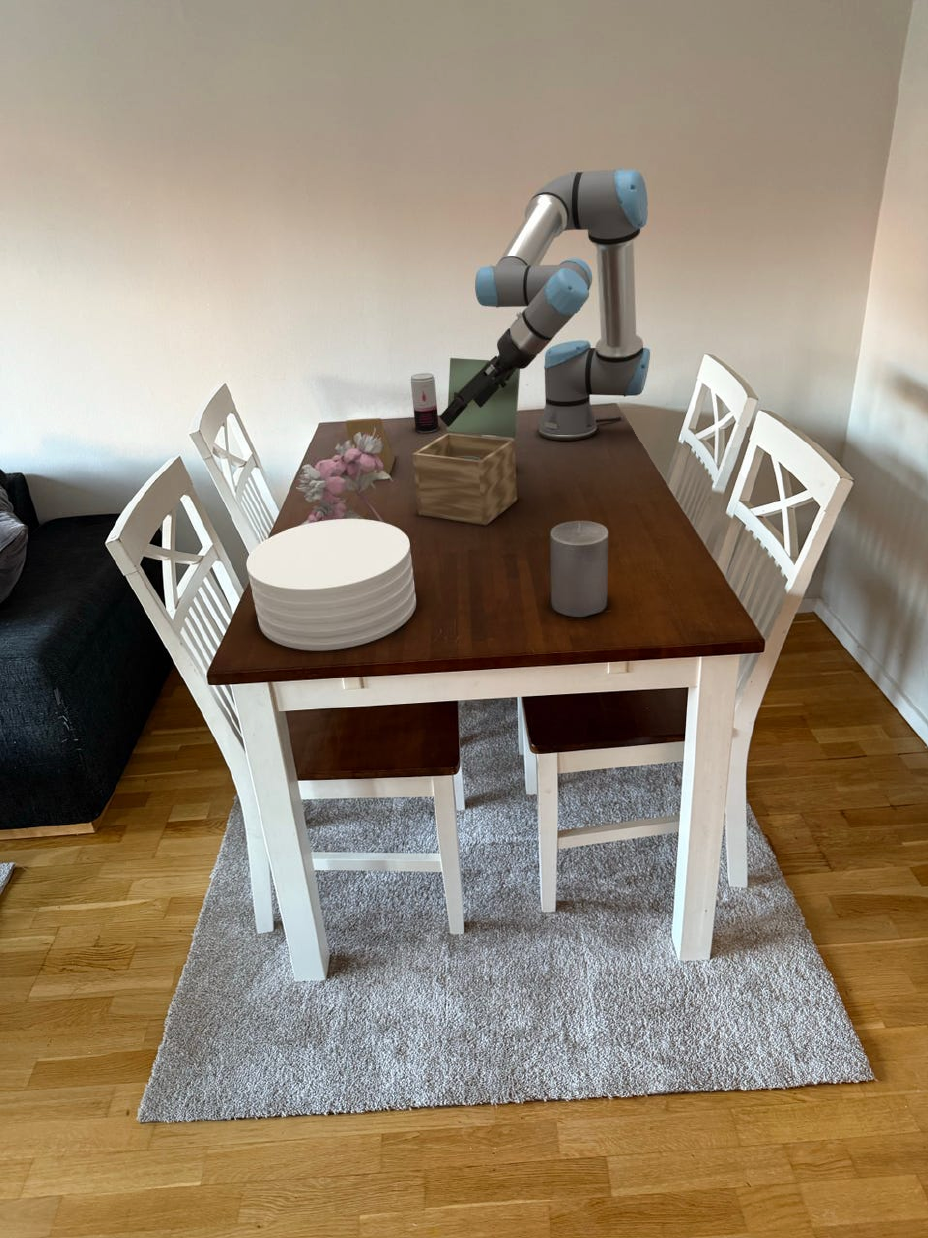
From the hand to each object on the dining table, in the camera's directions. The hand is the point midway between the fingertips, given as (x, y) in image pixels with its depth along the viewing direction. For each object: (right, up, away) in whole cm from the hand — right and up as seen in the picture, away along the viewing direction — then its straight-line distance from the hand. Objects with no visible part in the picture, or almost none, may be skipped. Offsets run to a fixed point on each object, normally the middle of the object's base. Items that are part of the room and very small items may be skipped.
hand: (461, 411), depth 180 cm
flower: (-25, -27, 0) cm, 37 cm away
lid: (+4, +5, +8) cm, 10 cm away
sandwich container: (-22, -5, +39) cm, 45 cm away
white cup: (+9, -7, +31) cm, 33 cm away
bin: (+2, -18, +12) cm, 22 cm away
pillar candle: (+21, -41, -29) cm, 54 cm away
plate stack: (-22, -41, -25) cm, 53 cm away
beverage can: (-10, +10, +64) cm, 66 cm away
